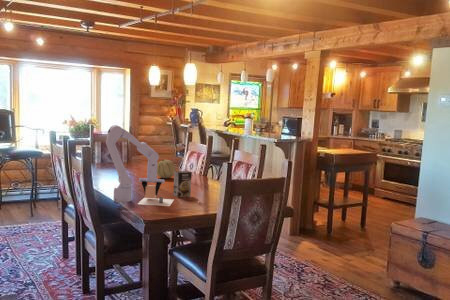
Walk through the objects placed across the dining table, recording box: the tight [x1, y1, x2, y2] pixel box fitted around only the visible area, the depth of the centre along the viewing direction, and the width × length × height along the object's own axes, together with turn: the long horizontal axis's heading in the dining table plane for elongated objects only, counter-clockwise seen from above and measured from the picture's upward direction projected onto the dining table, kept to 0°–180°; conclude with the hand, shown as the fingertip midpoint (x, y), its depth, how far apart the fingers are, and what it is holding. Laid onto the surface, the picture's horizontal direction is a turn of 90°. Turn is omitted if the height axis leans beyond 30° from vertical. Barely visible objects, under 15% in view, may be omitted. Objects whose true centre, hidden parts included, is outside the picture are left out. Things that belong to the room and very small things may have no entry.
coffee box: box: [172, 170, 192, 198], centre depth 263 cm, size 9×6×16 cm
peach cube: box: [144, 184, 158, 198], centre depth 248 cm, size 6×6×6 cm
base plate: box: [137, 197, 175, 207], centre depth 243 cm, size 18×17×1 cm
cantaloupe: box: [157, 159, 176, 179], centre depth 328 cm, size 15×15×15 cm
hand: (151, 194), depth 248 cm, fingers closed on peach cube, 6 cm apart
